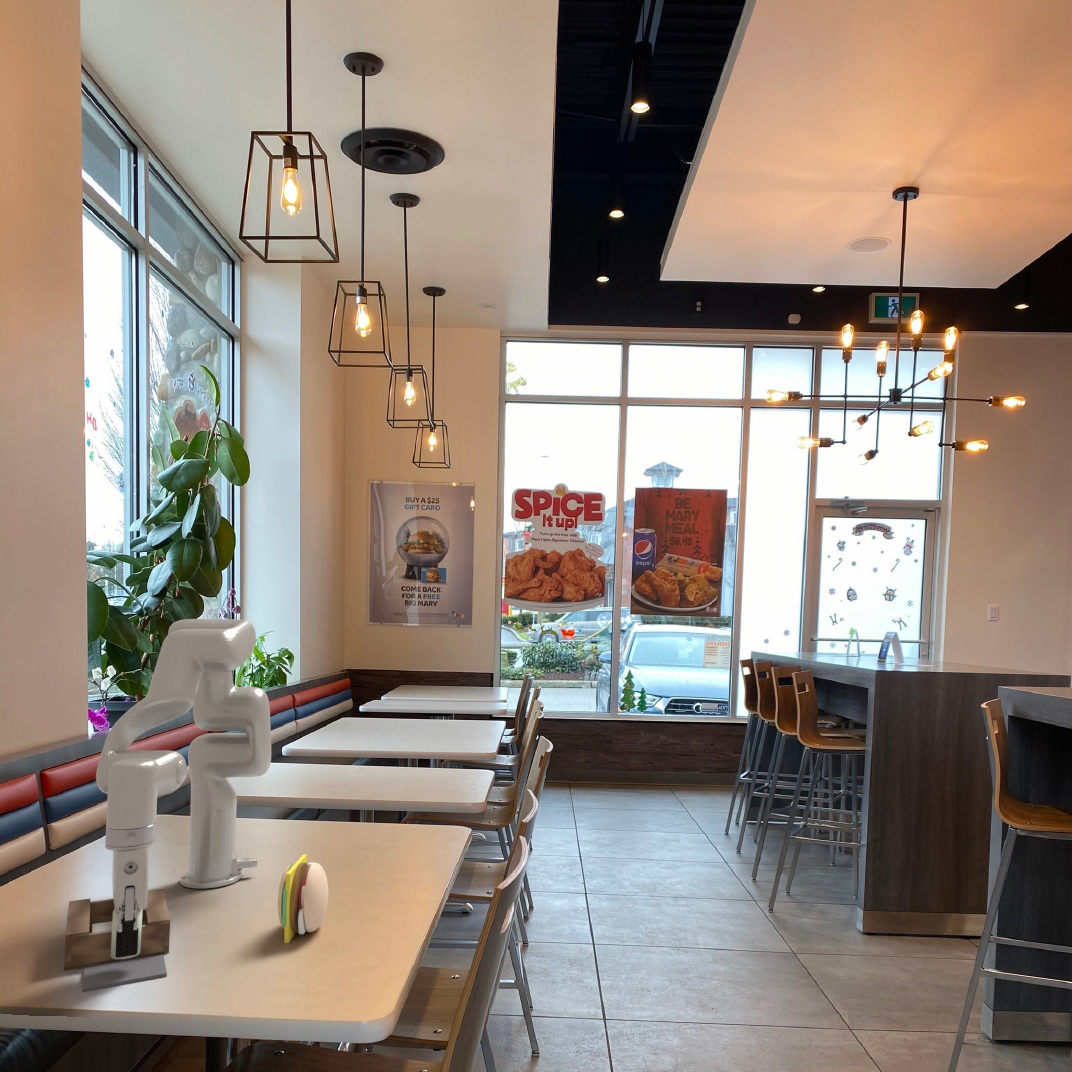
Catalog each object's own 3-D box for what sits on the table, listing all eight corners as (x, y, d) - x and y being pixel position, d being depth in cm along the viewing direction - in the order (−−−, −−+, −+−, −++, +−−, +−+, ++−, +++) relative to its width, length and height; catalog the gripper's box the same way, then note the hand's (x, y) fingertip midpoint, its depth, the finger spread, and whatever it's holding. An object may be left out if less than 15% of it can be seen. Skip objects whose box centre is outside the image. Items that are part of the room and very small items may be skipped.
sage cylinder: (140, 946, 141) (142, 903, 142) (140, 956, 137) (142, 911, 138) (110, 951, 139) (113, 907, 140) (110, 961, 135) (112, 915, 136)
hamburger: (318, 943, 151) (319, 874, 152) (271, 943, 151) (273, 874, 152) (332, 918, 163) (334, 854, 164) (289, 918, 163) (291, 854, 164)
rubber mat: (163, 958, 144) (163, 954, 144) (166, 976, 137) (166, 973, 137) (83, 971, 139) (84, 968, 139) (82, 991, 132) (83, 988, 132)
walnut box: (162, 918, 162) (163, 888, 163) (169, 952, 146) (170, 919, 147) (67, 932, 155) (69, 901, 156) (63, 970, 139) (65, 935, 140)
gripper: (158, 845, 134) (153, 965, 132) (153, 821, 149) (148, 928, 147) (105, 851, 131) (100, 974, 129) (105, 826, 146) (100, 936, 144)
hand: (126, 948), depth 138 cm, fingers closed on sage cylinder, 4 cm apart
